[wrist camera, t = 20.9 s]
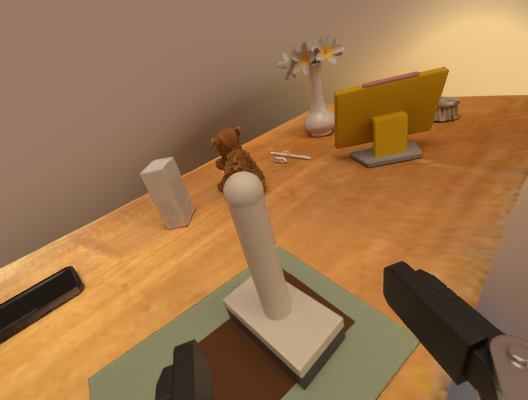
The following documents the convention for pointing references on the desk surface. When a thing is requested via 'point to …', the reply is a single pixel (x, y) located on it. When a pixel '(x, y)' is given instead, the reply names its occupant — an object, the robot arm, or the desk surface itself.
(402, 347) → the desk mat
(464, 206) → the desk surface
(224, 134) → the stuffed squirrel
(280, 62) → the flower vase
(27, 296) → the phone
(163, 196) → the cosmetic box
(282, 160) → the pen with cap
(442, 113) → the shoe brush
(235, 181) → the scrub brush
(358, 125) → the yellow framed monitor
